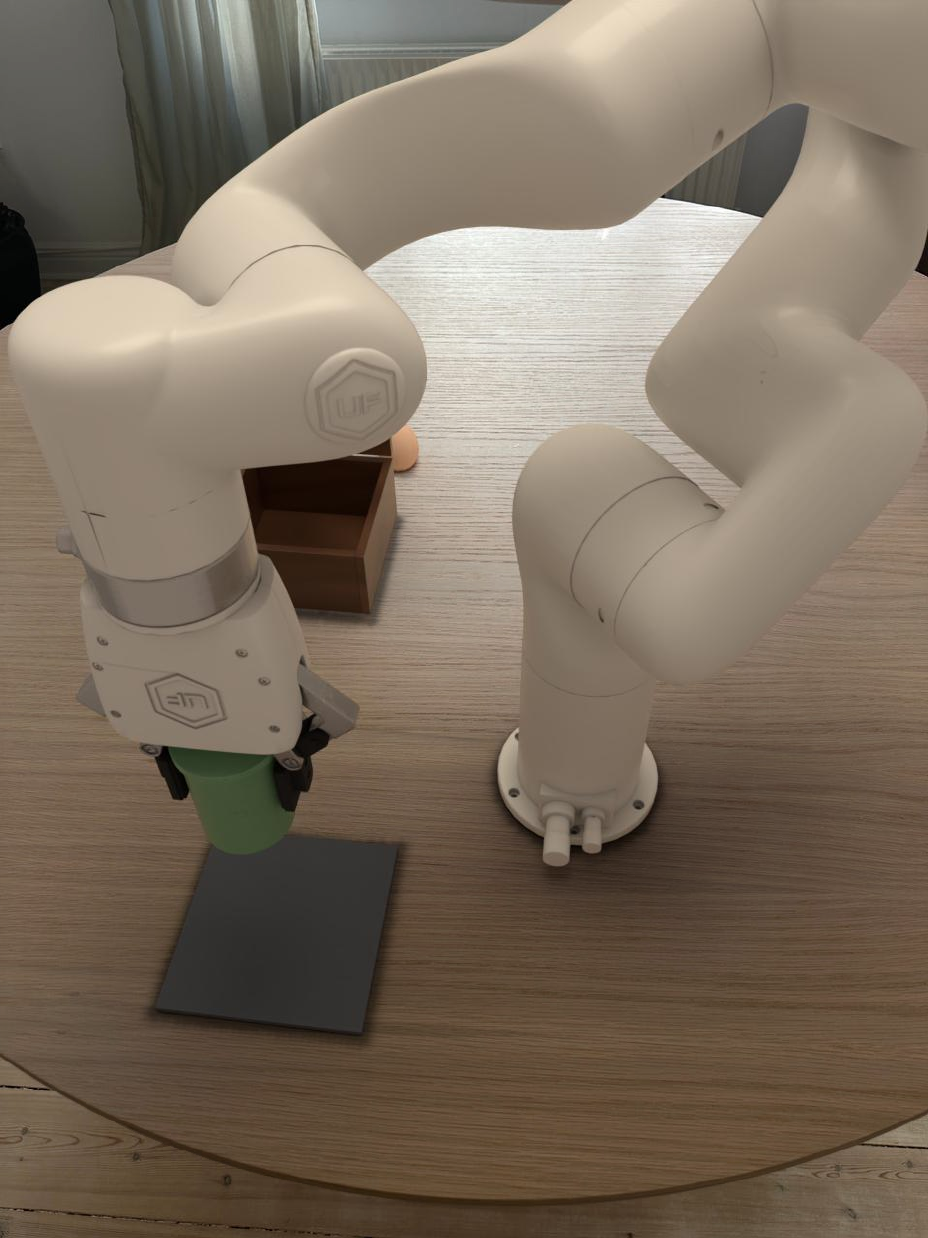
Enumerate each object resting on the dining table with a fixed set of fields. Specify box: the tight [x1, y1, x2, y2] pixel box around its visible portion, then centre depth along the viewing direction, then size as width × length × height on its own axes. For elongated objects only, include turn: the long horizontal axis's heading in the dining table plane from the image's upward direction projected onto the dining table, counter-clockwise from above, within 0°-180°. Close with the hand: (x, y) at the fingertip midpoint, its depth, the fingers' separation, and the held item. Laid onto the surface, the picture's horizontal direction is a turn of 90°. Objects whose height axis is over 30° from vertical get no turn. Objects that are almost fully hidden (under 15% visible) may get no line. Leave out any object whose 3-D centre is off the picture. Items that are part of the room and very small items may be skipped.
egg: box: [378, 424, 420, 472], centre depth 105 cm, size 4×4×6 cm
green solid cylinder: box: [168, 746, 296, 854], centre depth 57 cm, size 6×6×8 cm
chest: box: [240, 454, 398, 615], centre depth 94 cm, size 15×15×8 cm
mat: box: [154, 834, 399, 1036], centre depth 70 cm, size 14×14×1 cm
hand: (241, 784), depth 58 cm, fingers closed on green solid cylinder, 5 cm apart
